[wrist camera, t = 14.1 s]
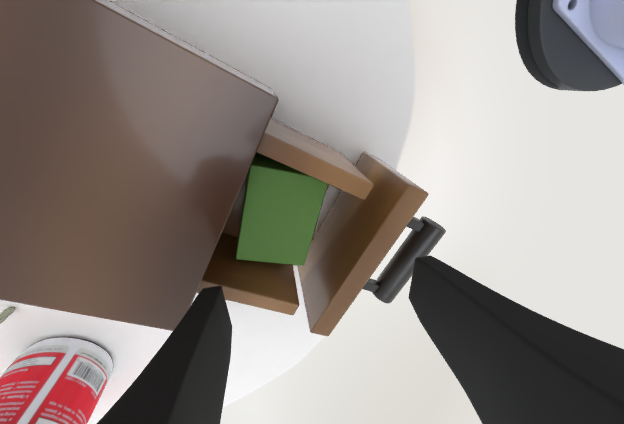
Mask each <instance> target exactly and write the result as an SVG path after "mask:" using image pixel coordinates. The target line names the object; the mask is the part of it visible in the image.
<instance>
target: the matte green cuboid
mask: <svg viewBox="0 0 624 424" xmlns="http://www.w3.org/2000/svg"><path fill="white" fill-rule="evenodd" d="M327 185H328V184H327V183H325V182H323V181H321V180H318V179H316V178H314V177H312V176H309V175H307V174H305V173H303V172H300V171H298V170H296V169H294V168H291V167H289V166H287V165H285V164H282V163H280V162H278V161H276V160H273V159H271V158H269V157H267V156H264V155H262V154H260V153H258V152H256V154H255V156H254V159H253V161H252V163H251V166H250V168H249V172H248V178H247V184H246V191H245V197H244V204H243V210H242V216H241V223H240V230H239V237H238V244H237V251H236V259H238V260H249V261H259V262H269V263H280V264H290V265H300V266H304V265H305V262H306V258H307V255H308V251H309V248H310V244H311V241H312V237H313V234H314V230H315V227H316V224H317V220H318V217H319V213H320V210H321V206H322V203H323V199H324V196H325V192H326V189H327Z"/></svg>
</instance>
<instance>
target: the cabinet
mask: <svg viewBox="0 0 624 424" xmlns="http://www.w3.org/2000/svg"><path fill="white" fill-rule="evenodd" d="M277 102H278V97H277V96H276V95H275V94H274V93H273V91H272V90H271V89H270V88H269V87H267V86H265V85H263V84H262V83H260V82H258V81H256V80H254V79H252V78H250V77H249V76H247V75H245V74H243V73H241V72H239V71H238V70H236V69H234V68H232V67H230V66H228V65H226V64H225V63H223V62H221V61H219V60H217V59H215V58H213V57H212V56H210V55H208V54H206V53H204V52H202V51H201V50H199V49H197V48H195V47H193V46H191V45H189V44H188V43H186V42H184V41H182V40H180V39H178V38H177V37H175V36H173V35H171V34H169V33H167V32H165V31H164V30H162V29H160V28H158V27H156V26H154V25H152V24H151V23H149V22H147V21H145V20H143V19H141V18H140V17H138V16H136V15H134V14H132V13H130V12H128V11H127V10H125V9H123V8H121V7H119V6H117V5H115V4H114V3H112V2H110V1H108V0H0V300H5V301H10V302H16V303H22V304H27V305H33V306H38V307H44V308H49V309H55V310H60V311H66V312H71V313H77V314H83V315H88V316H94V317H99V318H105V319H110V320H116V321H121V322H127V323H132V324H138V325H144V326H149V327H155V328H160V329H166V330H171V331H174V329H175V328H176V326H177V325H178V324H179V322H180V321H181V319H182V318H183V316H184V315H185V314H186V312H187V311H188V309H189V308H190V306H191V304H192V302H193V299H194V297H195V295H196V292H197V290H198V287H199V285H200V283H201V280H202V278H203V276H204V273H205V271H206V269H207V266H208V264H209V262H210V259H211V257H212V255H213V252H214V250H215V248H216V245H217V243H218V241H219V238H220V236H221V234H222V231H223V229H224V227H225V224H226V222H227V220H228V217H229V215H230V213H231V210H232V208H233V205H234V203H235V201H236V198H237V196H238V194H239V191H240V189H241V187H242V184H243V182H244V180H245V177H246V175H247V173H248V170H249V168H250V166H251V163H252V161H253V159H254V156H255V154H256V152H257V149H258V147H259V145H260V142H261V140H262V138H263V135H264V133H265V131H266V128H267V126H268V123H269V121H270V119H271V116H272V114H273V112H274V109H275V107H276V105H277Z"/></svg>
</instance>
